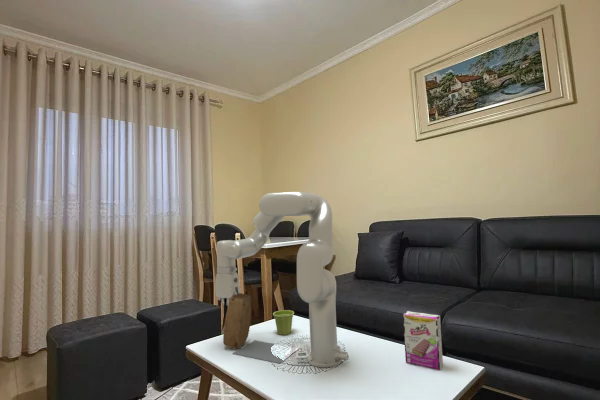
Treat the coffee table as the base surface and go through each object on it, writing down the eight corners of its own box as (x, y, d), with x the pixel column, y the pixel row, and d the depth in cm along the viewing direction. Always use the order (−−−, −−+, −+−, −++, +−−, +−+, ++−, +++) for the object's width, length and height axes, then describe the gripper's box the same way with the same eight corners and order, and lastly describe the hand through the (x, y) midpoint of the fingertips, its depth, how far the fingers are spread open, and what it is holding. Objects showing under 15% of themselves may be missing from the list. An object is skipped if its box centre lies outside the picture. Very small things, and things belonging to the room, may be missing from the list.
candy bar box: (405, 363, 109) (402, 314, 110) (409, 358, 113) (406, 310, 114) (440, 371, 103) (437, 318, 104) (443, 365, 107) (440, 314, 108)
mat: (299, 348, 126) (299, 348, 126) (280, 363, 113) (280, 363, 113) (254, 340, 136) (254, 340, 136) (232, 353, 124) (232, 353, 124)
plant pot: (272, 330, 148) (271, 311, 148) (293, 328, 150) (292, 309, 150) (274, 337, 139) (274, 317, 139) (296, 335, 140) (295, 314, 141)
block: (235, 351, 126) (242, 300, 125) (219, 346, 128) (226, 296, 128) (250, 341, 136) (256, 294, 135) (235, 336, 138) (241, 290, 138)
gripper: (246, 269, 135) (248, 314, 134) (219, 268, 142) (220, 310, 141) (234, 272, 128) (236, 319, 127) (206, 270, 136) (208, 315, 135)
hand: (228, 314), depth 134 cm, fingers closed
